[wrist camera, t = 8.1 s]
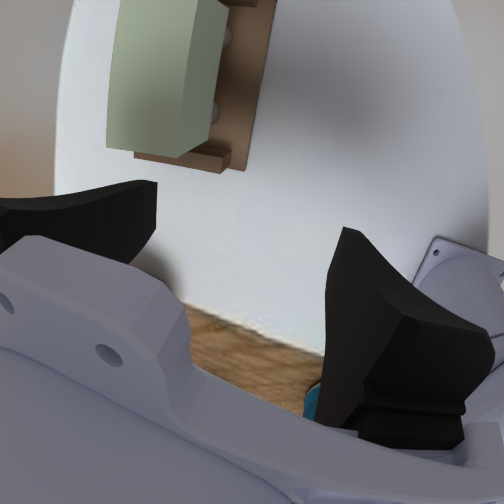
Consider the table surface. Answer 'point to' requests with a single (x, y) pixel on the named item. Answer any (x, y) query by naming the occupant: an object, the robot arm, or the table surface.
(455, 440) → the robot arm
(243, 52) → the peg frame
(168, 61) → the pale green block
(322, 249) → the table surface
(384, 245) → the table surface
